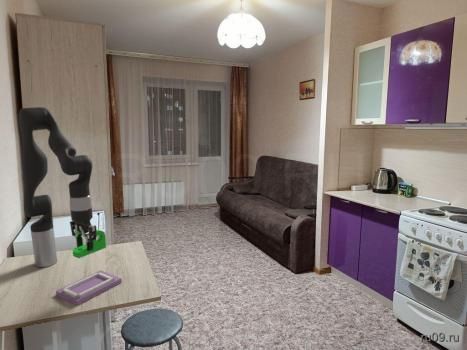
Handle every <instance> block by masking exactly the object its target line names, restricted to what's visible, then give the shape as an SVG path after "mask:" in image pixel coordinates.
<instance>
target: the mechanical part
mask: <svg viewBox="0 0 467 350" xmlns="http://www.w3.org/2000/svg"><path fill="white" fill-rule="evenodd" d="M98 236H99V237H98ZM97 237H98V239H96V240H93V250H91V251H87V245H86V243H84V244H83V245H82V246H79V247H77V246H76V247H75V248H73V249H72V256H73V258H77V259H82V258H84V257H86V256H88V255H91V254H93V253H96V252H99V251H101V250H104V249H107V237H106V233H105V232H104V231H103V230H100V229H96V238H97Z"/></svg>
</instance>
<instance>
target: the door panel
mask: <svg viewBox="0 0 467 350" xmlns="http://www.w3.org/2000/svg"><path fill="white" fill-rule="evenodd" d="M122 282H123V281H122V278H121V277H119V276H116V275H114V274H111V273H109V272H106V271H103V270H98V271H96V272H94V273H92V274H90V275H87V276H85V277H83V278H80V279H78V280H76V281H74V282H72V283H70V284H68V285H65V286H63V287H61V288H59V289H57V290H55V293H56V294H55V295H56V296H58V297H60V298H61V299H63V300H66V301H67V302H70V303H72V304H73V305H76V306H79V305H81V304H83V303H85V302H86V301H89V300H91V299H93V298H94V297H96V296H98V295H100V294H102V293H104V292H106V291H108V290H109V289H113V288H114V287H116V286H117V285H119V284H121V283H122Z"/></svg>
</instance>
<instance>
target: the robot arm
mask: <svg viewBox="0 0 467 350" xmlns="http://www.w3.org/2000/svg"><path fill="white" fill-rule="evenodd" d="M18 123H19V124H18V125H19V129H20V130H19V131H20V136H21V137H20V139H21V149H22V174H23V184H24V185H23V186H24V187H23V189H24V190H23V211H24V214H25V216H26V217H28V218H34V217H40V216H42V217H40V218H39V219H38V220H37V221H34V222H32V223H31V224H30V225H29V226H30V228H29V229H30V234H31V243H32V251H33V258H34V265H35V267H36V268H46V267H51V266H53V265H56V263H58V256H57V246H56V238H55V230H54V218H53V204H52V198H51V197H50V195H48V194H40V195H35V193H36V191H37V189H38V188H39V186H40V185H41V183H42V182H43V181H44V180H45V177H46V176H47V174H48V164H49V163H48V157H47V155H46V153H45V152H44V151H43V150H42V149H41V148H40V146H38V144H37V143H36V141H35V139H34V135H33V134H34V133H33V132H34V131H43V130H47V131H48V132H49V135H48V141H47V142H48V143H47V144H48V147H49V148H50V151H52V153H53V154H54V155H55V157H57V160H58V162H59V166H60V168H61V171H62V172H63V173H64V174H65V175H67V176H78V177H77V178H76V179H75V180H74V179H73V180H72V181H70V182H69V183H68V190H69V192H68V193H69V209H70V217H71V221H69V225H70V231H71V235H72V237H74V239H76V248H77V247H79V246H82V245H84V241H83V239H84V238H85V244H86V245H87V251H91V250H93V240H97V237H96V230H97V225H96V224H95V225H92V223H91V220H92V219H93V217H94V215H93V207H92V206H93V205H92V204H93V203H92V198H91V192H90V183H91V176H92V172H93V161H92V159H91V158H90V157H89V156H88V155H85V154H81V155H76V154H77V149H76V148H75V147H74V145H73V144H72V143H71V142H70V141H69V139H68V138H67V137H66V136H65V135H64V133H63V131H62V130H61V128H60V126H59V124H58V122H57V121H56V118H54V115H53V114H52V112H50V110H49V109H47V108H46V107H42V106H41V107H40V106H39V107H37V106H35V107H23V108H20V109H19V112H18Z"/></svg>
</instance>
